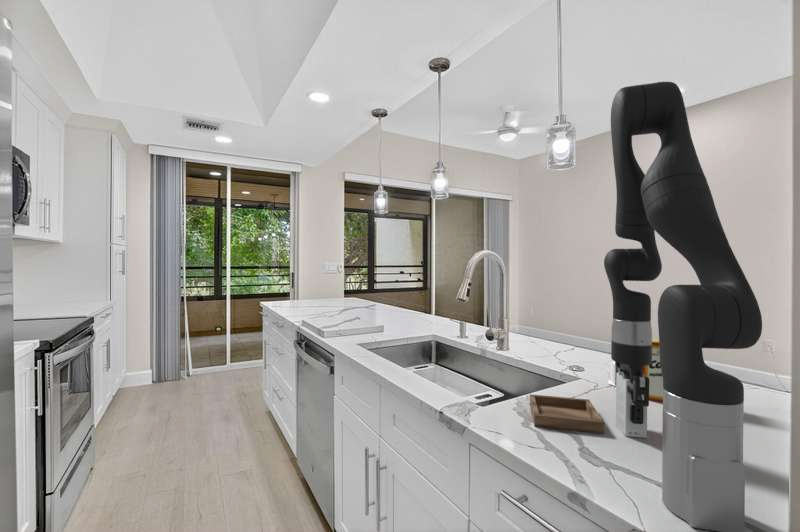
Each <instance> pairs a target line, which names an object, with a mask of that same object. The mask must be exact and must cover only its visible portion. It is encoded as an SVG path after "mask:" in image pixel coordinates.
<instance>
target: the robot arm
mask: <svg viewBox="0 0 800 532" xmlns="http://www.w3.org/2000/svg"><path fill="white" fill-rule="evenodd" d="M690 130H691V129H690V126H689V120H688V115H687V111H686V105H685V101H684V97H683V94H682V91H681V89H680V87H679V86H678V84H676V83H675V82H673V81H658V82H652V83H643V84H638V85H637V84H636V85H630V86H624V87H622V88H620V89H619V90H618V91H616V94H615V95H614V97H613V100H612V104H611V109H610V132H611V133H610V135H611V145H612V146H611V147H612V157H613V159H612V160H613V167H614V176H615V187H616V203H615V204H616V206H615V208H616V209H615V223H614V224H615V226H614V227H615V228H614V231H615V235H616V236H617V237H618V238H621V239H624V240H631V241H636V242H639V243H640V244H641V248H613V249H611V250H609V251H608V252H607V253H606V255H604V261H603V266H604V271H605V273H606V276H607V280H608V282H609V286H610V290H611V296H612V323H611V324H612V325H611V342H610V343H611V344H610V345H611V347H610V348H611V350H610V358H611V360H612V361H615V385H616V373H618V374H619V375H622V379H629V380H630V382H631V383H632V384H634V387H633V389H631V388H630V386H627V393H628V394H629V398H630V421H631V422H632V423H634V424H643V410H644V407H645V406H646V407H647V408H648V407H649V406H650V400H649V381H650V380H649V378H648V377H644V373H643V372H642V367H643V366H648V365H650V364H651V363H652V338H653V327H652V319H651V318H652V309H651V308H652V300H651V299H652V298H651V296H650V295H649V294H648V293H644V292H640V291H635V290H631V289H628V288H627V287H626V285H625V284H624V282H625V281H626V282H627V281H628V282H653V281H655V280H656V279H657V278H658V277H659V276H660V275H661V272H662V269H663V268H662V267H663V264H662V260H661V256H660V253H659V250H658V246H657V240H656V235H655V234H656V233H657V234H658V236H660V237H661V238H662V239H663V240H664V241H665V242H666V243H667V244H668V245H670V246H671V247H672V248H673V249H675V251H677V252H678V253H679V254H680V255H681V256H683V258H684V259H685V260H686V261H687V262H688V263H689V264H690V266H691V267H692V269H693V270H694V272H695V274H696V277H697V278H698V279H697V280H698V281H699V283H700V284H674V285H670V286H668V287H666V288H665V289H664V290H663V291H662V293H661V294H660V295H661V296H660V298H659V301H658V305H657V326H658V327H657V328H658V338H659V347H660V366H661V371H662V376H663V402H662V442H661V443H662V445H661V446H662V451H661V452H662V453H661V454H662V455H661V457H662V460H661V461H662V462H661V464H662V465H661V467H662V468H661V469H662V470H661V482H662V483H661V489H662V490H661V500H662V503H663V504H664V506H665V508H667V509H668V510H669V511H670V512H671V513H673V514H674V515H675V516H677V517H679V518H681V519H682V520H684V521H685V522H687V524H689V526H690V527H692V528H695V529H701V530H702V529H703V530H707V531H709V530H710V531H716V532H745V527H746V526H745V517H746V515H745V513H746V511H745V508H746V507H745V506H746V503H745V501H746V496H745V495H746V492H745V491H746V466H745V465H744V417H745V416H744V415H745V413H744V410H745V409H744V408H745V407H744V405H745V403H744V402H745V399H744V398H745V397H744V396H745V391H744V390H745V389H744V384H743V382H742V381H741V380H740V379H739V378H738V377H735V376H734V375H732V374H729V373H727V372H724V371H721V370H719V369H715V368H713V367H711V366H709V365H707V364H706V363H705V359H704V354H703V349H719V350H720V349H721V350H722V349H723V350H725V349H726V350H743V349H749V348H752V347H753V346H755V345H756V344H757V343H758V341H759V340H760V339H761V337H762V332H763V319H762V317H763V316H762V314H761V313H762V312H761V309H760V305H759V303H758V302H759V301H758V300H757V297H756V295H755V292H754V291H753V289H752V287H751V285H750V282H749V281H748V279H747V277H746V275H745V273H744V271H743V269H742V267H741V266H740V263H739V262H738V261H739V260H738V259H737V258H736V255H735V253H734V252H733V249H732V247H731V245H730V243H729V240H728V238H727V235H726V232H725V231H724V228H723V226H722V222H721V219H720V217H719V215H718V211H717V209H716V208H717V207H716V204H715V201H714V198H713V194H712V191H711V189H710V186H709V183H708V181H707V177H706V176H705V173H704V170H703V168H702V166H701V163H700V160H699V157H698V154H697V151H696V147H695V144H694V143H693V139H692V134H691V131H690ZM649 134H657V136H658V137H659V139H660V144H661V145H660V149H659V150H658V152H657V155H656V156H655V158H654V160H653V161H652V163H651V164H650V166H649V168H648V169H647V170H646V173H644V171H643V170H642V167H641V166H640V164H639V162H638V161H637V159H636V156H635V153H634V148H633V136H640V135H649ZM655 232H656V233H655ZM638 395H639V396H640V400H638ZM643 406H644V407H643Z"/></svg>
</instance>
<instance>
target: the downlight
mask: <svg viewBox="0 0 800 532" xmlns="http://www.w3.org/2000/svg"><path fill="white" fill-rule="evenodd" d="M609 370H610V371H609ZM607 375H608V378H609V379H608V380H607V383H608V384H609V385H611V386H613V387H616V385H615V361H613V360H612V361H610V365H607Z"/></svg>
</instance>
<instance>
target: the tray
mask: <svg viewBox="0 0 800 532" xmlns="http://www.w3.org/2000/svg"><path fill="white" fill-rule="evenodd" d="M529 405H530V411H531V415H532V420H533V425H534V427H537V428H538V427H539V428H546V429H555V430H556V429H557V430H564V431H573V432H574V431H575V432H582V433H592V434H601V435H604V434H605V422H604V420H603V418H602V417H601V416H600V414H599V413H598V410H597V409H596V408H595V406H594V405H593V403H592V402H591V400H590V399H584V398H575V397H564V396H552V395H542V394H533V393H532V394H529Z"/></svg>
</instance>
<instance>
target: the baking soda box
mask: <svg viewBox="0 0 800 532" xmlns="http://www.w3.org/2000/svg"><path fill="white" fill-rule="evenodd" d="M642 372H643V373H644V377H648V378H649V380H650V381H649V401H652V402H656V403H657V402H658V403H663V376H662V371H661V366H660V347H659V337H652V363H651V364H650V365H648V366H643V367H642Z"/></svg>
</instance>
